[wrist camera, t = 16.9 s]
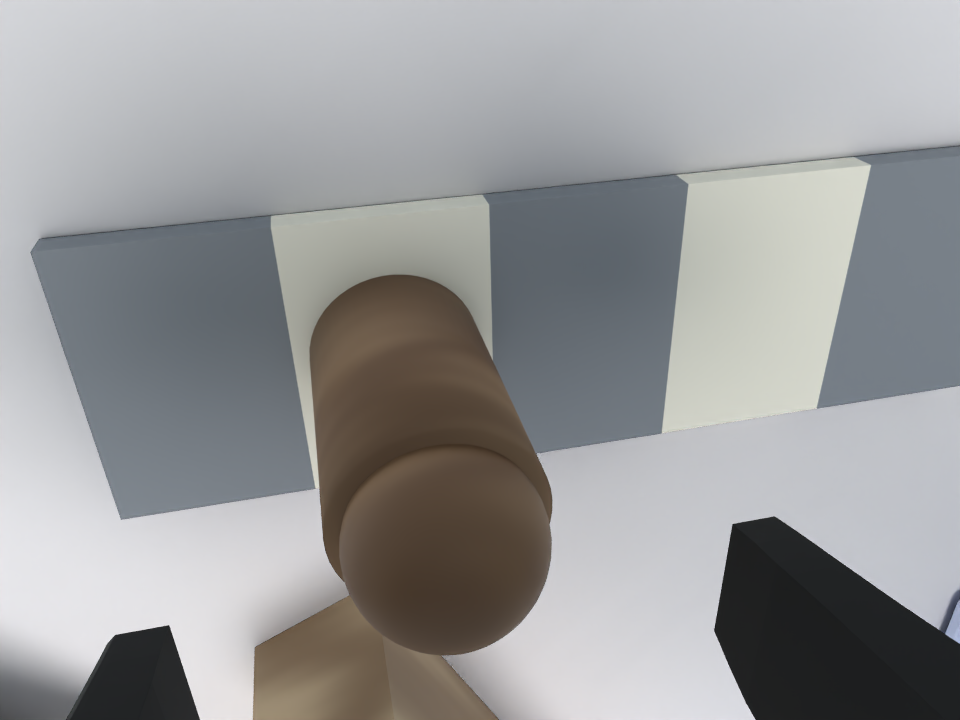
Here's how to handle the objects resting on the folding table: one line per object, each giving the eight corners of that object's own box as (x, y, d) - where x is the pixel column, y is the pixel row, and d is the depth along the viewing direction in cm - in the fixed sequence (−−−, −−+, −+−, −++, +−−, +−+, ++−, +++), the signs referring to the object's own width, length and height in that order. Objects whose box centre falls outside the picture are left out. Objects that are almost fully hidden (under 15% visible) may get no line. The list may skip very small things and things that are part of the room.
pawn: (480, 269, 16) (607, 504, 10) (476, 414, 17) (582, 690, 11) (302, 279, 15) (321, 540, 9) (316, 430, 17) (339, 733, 11)
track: (1168, 125, 18) (1194, 131, 18) (1076, 352, 21) (1095, 364, 21) (39, 239, 14) (31, 252, 14) (125, 500, 17) (120, 519, 17)
